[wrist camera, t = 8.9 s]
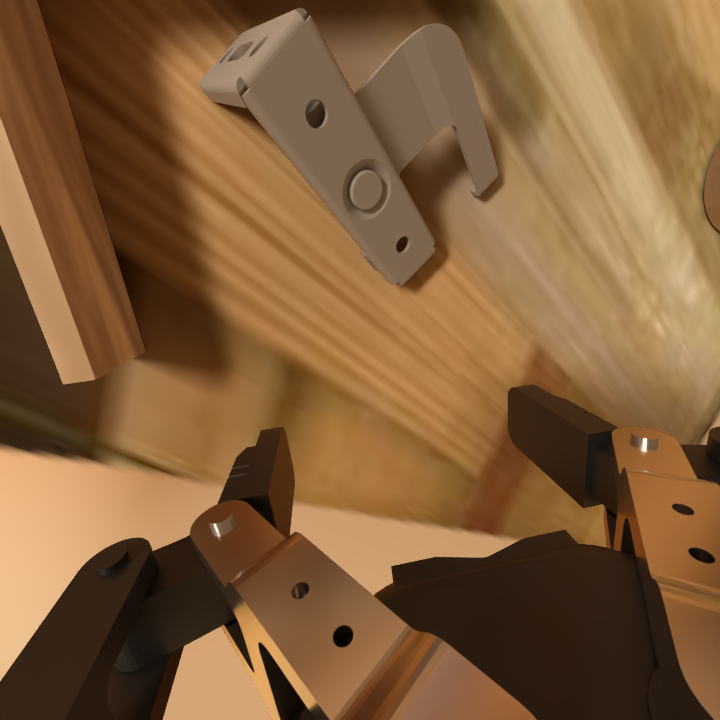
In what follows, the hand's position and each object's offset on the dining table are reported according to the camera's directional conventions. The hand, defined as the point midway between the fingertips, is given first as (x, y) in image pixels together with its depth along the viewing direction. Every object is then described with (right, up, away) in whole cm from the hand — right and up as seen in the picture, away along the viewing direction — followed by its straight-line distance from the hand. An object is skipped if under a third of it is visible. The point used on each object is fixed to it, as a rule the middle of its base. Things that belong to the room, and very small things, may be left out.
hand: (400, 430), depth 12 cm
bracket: (-1, +17, +11) cm, 21 cm away
